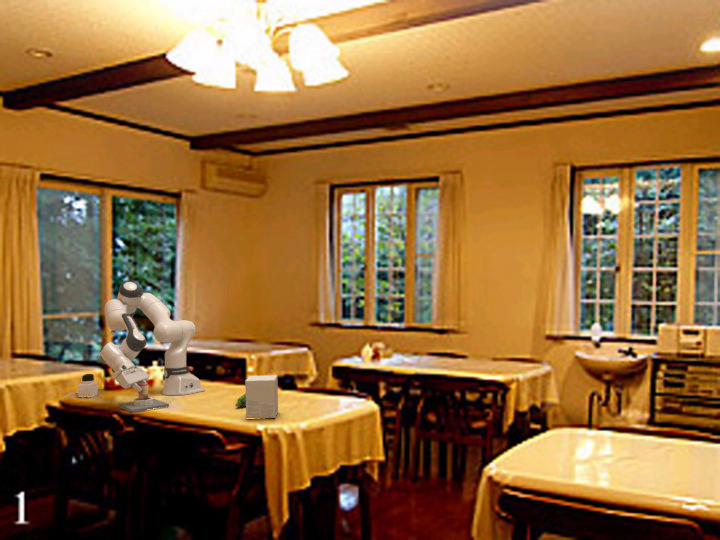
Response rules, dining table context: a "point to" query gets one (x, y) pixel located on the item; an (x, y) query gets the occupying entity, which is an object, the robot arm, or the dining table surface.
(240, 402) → the vegetable
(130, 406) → the ring collar board
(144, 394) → the oak peg
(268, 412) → the supplement box
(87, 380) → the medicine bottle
